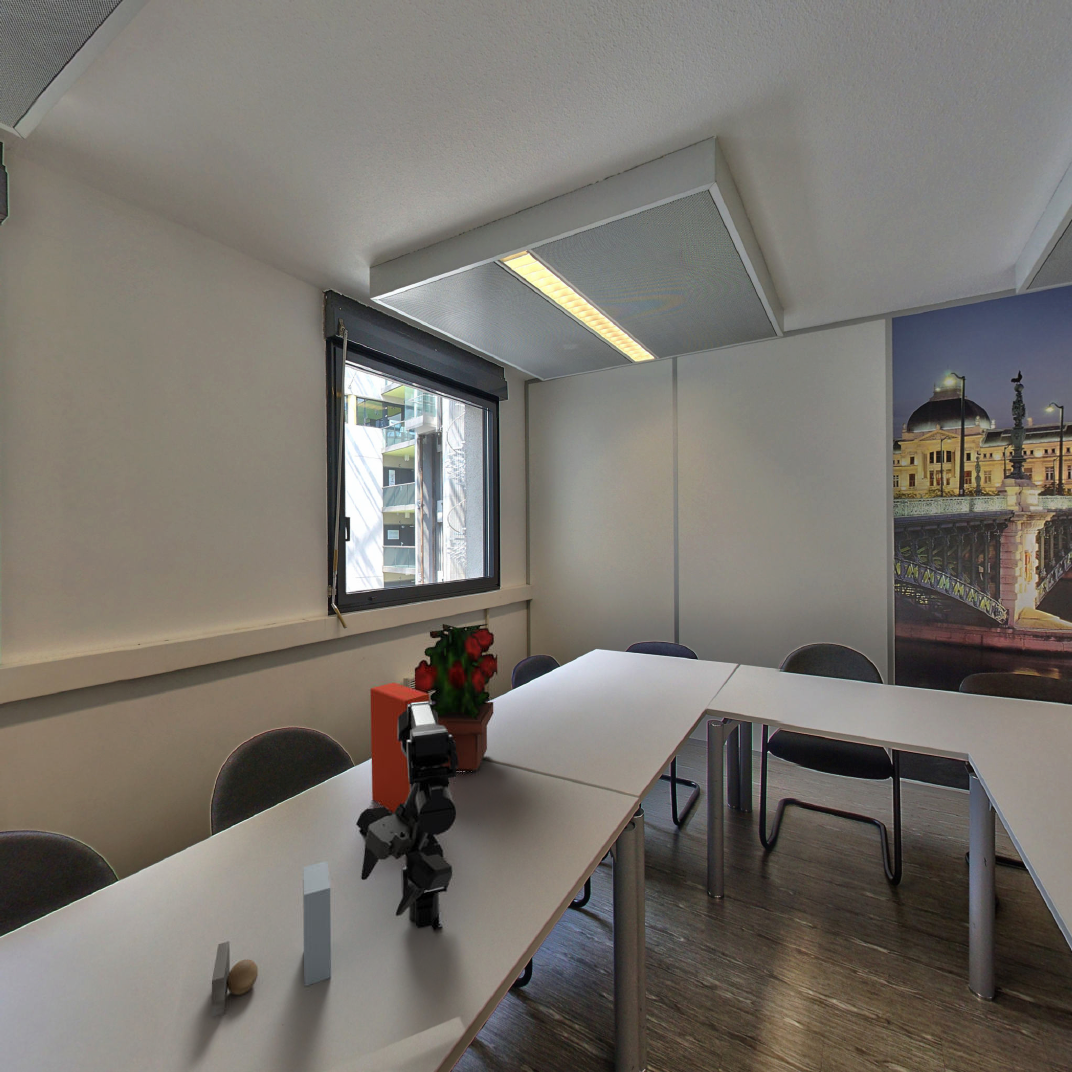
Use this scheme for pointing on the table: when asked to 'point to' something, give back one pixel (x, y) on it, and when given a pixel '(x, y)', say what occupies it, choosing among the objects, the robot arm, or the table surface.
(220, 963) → the press bed
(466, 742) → the potted plant
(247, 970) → the walnut
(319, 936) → the block
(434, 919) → the robot arm
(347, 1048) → the table surface
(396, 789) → the file binder
